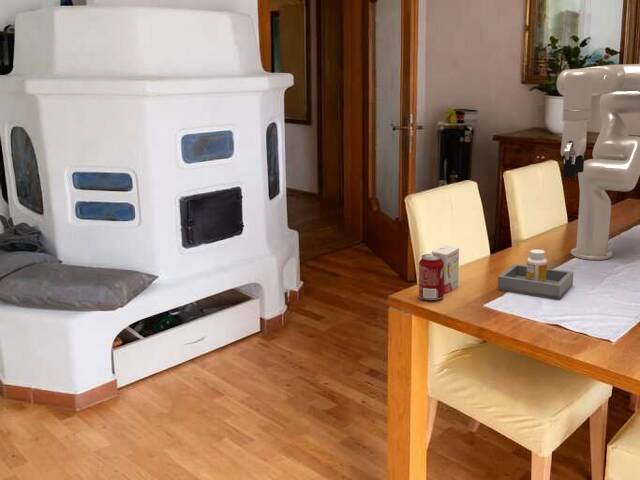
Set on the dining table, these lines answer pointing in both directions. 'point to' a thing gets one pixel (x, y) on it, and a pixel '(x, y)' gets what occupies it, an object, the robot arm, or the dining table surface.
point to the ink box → (449, 266)
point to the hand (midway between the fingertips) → (573, 174)
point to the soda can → (431, 277)
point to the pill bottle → (536, 266)
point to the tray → (535, 282)
